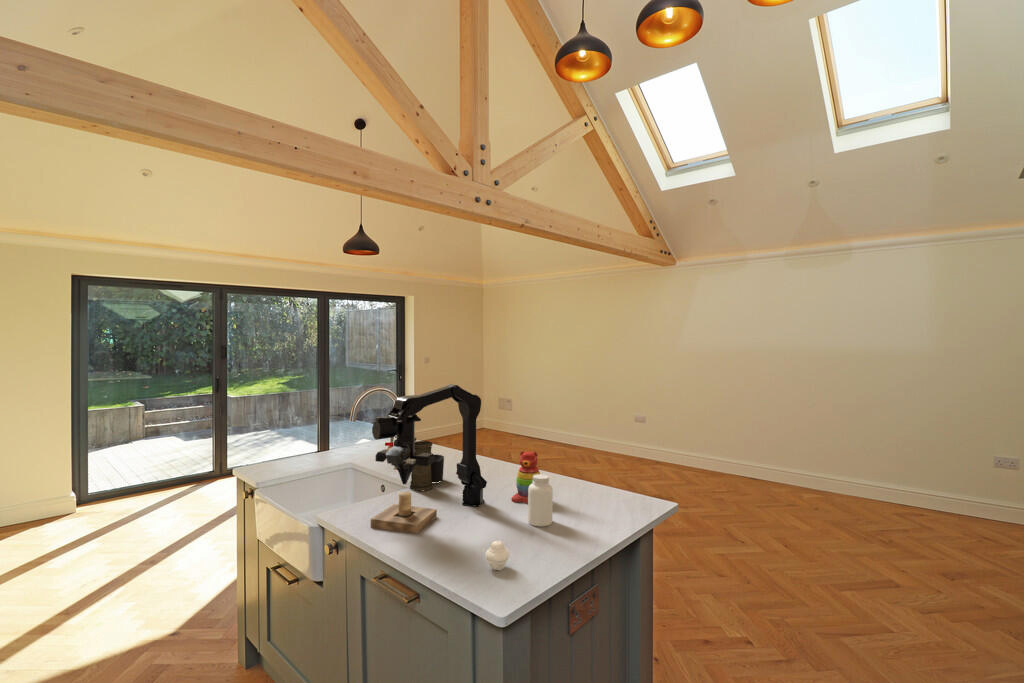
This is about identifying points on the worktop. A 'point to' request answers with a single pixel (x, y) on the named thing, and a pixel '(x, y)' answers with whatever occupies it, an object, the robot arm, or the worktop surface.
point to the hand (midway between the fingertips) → (404, 484)
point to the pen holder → (437, 468)
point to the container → (421, 468)
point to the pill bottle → (540, 501)
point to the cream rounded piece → (497, 555)
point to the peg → (404, 505)
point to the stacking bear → (525, 475)
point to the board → (404, 519)
